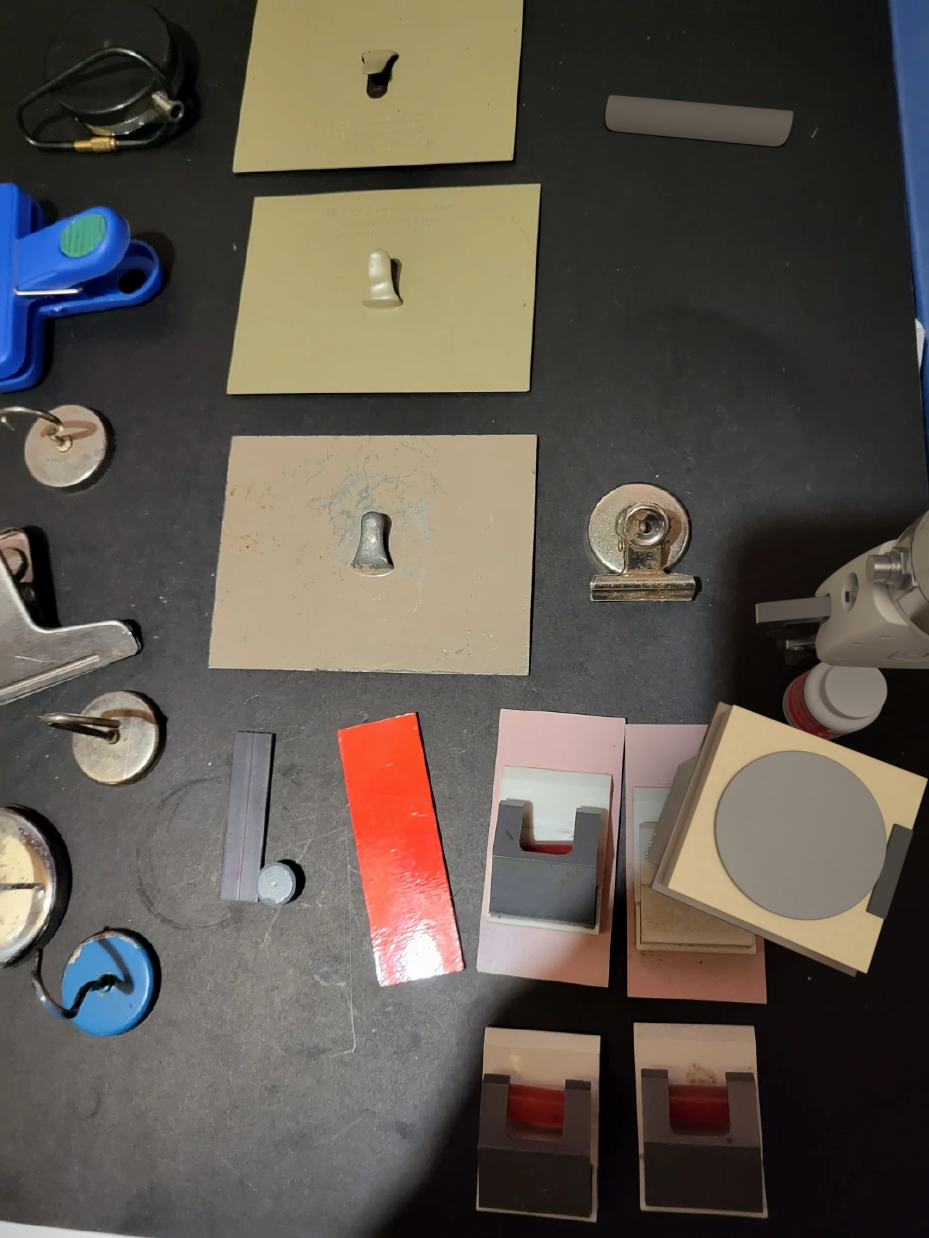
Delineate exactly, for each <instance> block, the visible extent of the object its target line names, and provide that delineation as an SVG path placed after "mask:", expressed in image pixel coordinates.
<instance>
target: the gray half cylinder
mask: <svg viewBox="0 0 929 1238" xmlns="http://www.w3.org/2000/svg"><path fill="white" fill-rule="evenodd" d="M604 118H605V125H606V127H607V129H609V130H610V131H613V132H619V133H620V132H621V133H629V134H630V133H631V134H640V135H641V134H642V135H651V136H663V137H670V138H671V137H673V138H683V139H693V140H703V141H715V142H725V143H734V144H744V145H755V146H756V145H757V146H764V147H765V146H767V147H779V146H782V145H784V143H785V142H786V141H787V139H788V137H789V136H790V132H791V129H792V124H793V121H794V111H793V110H786V109H785V110H784V109H775V108H774V109H773V108H763V107H762V108H761V107H753V106H752V107H750V106H741V105H729V104H718V103H709V102H708V103H707V102H706V103H705V102H695V101H686V100H685V101H683V100H673V99H661V98H650V97H639V96H629V95H616V94H609V95H608V99H607V102H606V106H605V117H604Z"/></svg>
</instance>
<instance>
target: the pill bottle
mask: <svg viewBox="0 0 929 1238" xmlns="http://www.w3.org/2000/svg"><path fill="white" fill-rule="evenodd" d="M887 696H888V686H887V682H886V679H885V677H884V675H883V674H882V672H881V671H880V669H879V668H866V667H842V666H833V665H828V664H826V663H824V662H822V661H821V662H820V663H818V664H816V665H814V666H813V667H811V668H810V669H809V670H807V671H805V672H804V673H802V674H801V675H799V676H797V677H796V678H794V679H793V681H791V682H790V683H789V685H788V686H787V687H786V689H785V691H784V693H783V698H782V710H783V714H784V717H785V719H786V721H787V723H788V725H789V726H791V727H793V728H796V729H799V730H801V731H804V732H806V733H809V734H812V735H814V736H817V737H820V738H822V739H825V740H827V741H830V740H833V739H836V738H840V737H842V736H845V735H848V734H852V733H853V732H857V731H860V730H862V729H864V728H866V727H868V726H869V725H871V724H872V723H873V722H874V721H875V720H876V719H877V718H878V716H879V715H880V713H881V711H882V708H883V706H884V704H885V702H886V700H887Z"/></svg>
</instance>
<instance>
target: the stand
mask: <svg viewBox="0 0 929 1238" xmlns="http://www.w3.org/2000/svg"><path fill="white" fill-rule="evenodd" d="M731 706H733V705H732V704H730V703H726V702H724V701H721V700H719V701H717V702H716V703H715V704H714V707H713V710H712V713H711V716H710V719H709V721H708V725H707V727H706V730H705V732H704V735H703V738H702V741H701V742H700V743H701V744H700V746H699V749H698V751H697V753H696V754H695V755H694V756H692V757H691V758H689V759H687V760H685V761H684V762H683V761H682V763H680V764H679V765H678V766H677V769H676V772H675V773H674V774H675V775H674V777H673V781H672V783H671V786H670V788H669V790H668V794H667V796H666V799H665V802H664V805H663V807H662V810H661V813H660V816H659V818H658V820H657V823H656V826H655V828H654V831H653V834H652V837H651V840H650V843H649V845H648V848H647V851H646V853H645V856H644V860H645V859H646V860H645V861H647V862H650V863H651V864H653V865H656V867H655V869H654V872H653V875H652V878H651V880H650V883H649V886H648V888H649V889H650V890H652V891H653V892H656V893H658V894H660V895H663V896H665V897H667V898H670V899H672V900H674V901H677V902H679V903H682V904H684V905H686V906H687V907H691V908H693V909H695V910H698V911H700V912H703V913H705V914H707V915H709V916H712V917H714V918H716V919H718V920H721V921H723V922H725V923H728V924H729V925H732V926H735V927H736V928H739V929H741V930H744V931H746V932H748V933H751V934H753V935H755V936H757V937H760V938H762V939H764V940H767V941H769V942H771V943H774V944H776V945H777V946H780V947H783V948H785V949H788V950H790V951H792V952H795V953H797V954H799V955H801V956H804V957H806V958H808V959H811V960H813V961H816V962H818V963H820V964H822V965H825V966H827V967H830V968H831V969H834V970H836V971H839V972H841V973H843V974H845V975H848V976H850V977H852V978H856V976H857V973H858V970H857V969H854V968H852V967H850V966H847V965H845V964H843V963H840V962H838V961H836V960H834V959H831V958H829V957H827V956H824V955H822V954H820V953H817V952H815V951H813V950H810V949H808V948H806V947H803V946H801V945H799V944H796V943H794V942H792V941H789V940H787V939H785V938H783V937H780V936H778V935H776V934H773V933H771V932H769V931H766V930H764V929H762V928H759V927H757V926H755V925H752V924H750V923H748V922H745V921H743V920H741V919H738V918H736V917H734V916H732V915H729V914H727V913H725V912H722V911H720V910H718V909H715V908H713V907H711V906H708V905H706V904H704V903H701V902H699V901H697V900H694V899H692V898H690V897H687V896H685V895H683V894H681V893H678V892H676V891H674V890H671V889H669V888H667V887H665V886H664V885H662V882H663V879H664V877H665V874H666V871H667V868H668V866H669V863H670V860H671V857H672V855H673V852H674V849H675V846H676V844H677V841H678V838H679V835H680V833H681V830H682V827H683V824H684V822H685V819H686V816H687V813H688V811H689V808H690V805H691V802H692V799H693V797H694V794H695V791H696V788H697V786H698V783H699V780H700V777H701V775H702V772H703V769H704V766H705V764H706V761H707V758H708V755H709V753H710V750H711V747H712V744H713V742H714V739H715V736H716V733H717V731H718V728H719V725H720V722H721V720H722V717H723V714H724V712H725V711H726V710H727V709H729V708H730V707H731ZM654 834H655V835H654ZM651 842H652V843H651ZM650 845H651V846H650ZM647 853H648V854H647ZM646 856H647V857H646Z"/></svg>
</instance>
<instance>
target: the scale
mask: <svg viewBox="0 0 929 1238" xmlns="http://www.w3.org/2000/svg"><path fill="white" fill-rule="evenodd" d="M927 783H928V778H926V777H924V776H921V775H918V774H916V773H914V772H911V771H908V770H906V769H903V768H901V767H898V766H895V765H893V764H890V763H887V762H885V761H883V760H879V759H877V758H874V757H871V756H869V755H866V754H864V753H861V752H858V751H856V750H854V749H851V748H848V747H846V746H843V745H841V744H837V743H836V742H832V741H830V740H825V739H822V738H820V737H817V736H814V735H812V734H809V733H806V732H804V731H801V730H799V729H796V728H793V727H791V726H790V725H789V724H786V723H783V722H780V721H778V720H775V719H772V718H769V717H767V716H764V715H762V714H759V713H756V712H754V711H752V710H749V709H747V708H745V707H741V706H738V705H736V704H733V705H732V706H731V707H730V708H729V709H727V710H726V711H725V712H724V714H723V717H722V720H721V722H720V725H719V728H718V731H717V733H716V736H715V739H714V742H713V744H712V747H711V750H710V753H709V755H708V758H707V761H706V764H705V766H704V769H703V772H702V775H701V777H700V780H699V783H698V786H697V788H696V791H695V794H694V797H693V799H692V802H691V805H690V808H689V811H688V813H687V816H686V819H685V822H684V824H683V827H682V830H681V833H680V835H679V838H678V841H677V844H676V846H675V849H674V852H673V855H672V857H671V860H670V863H669V866H668V868H667V871H666V874H665V877H664V879H663V882H662V885H664V886H665V887H667V888H669V889H671V890H674V891H676V892H678V893H681V894H683V895H685V896H687V897H690V898H692V899H694V900H697V901H699V902H701V903H704V904H706V905H708V906H711V907H713V908H715V909H718V910H720V911H722V912H725V913H727V914H729V915H732V916H734V917H736V918H738V919H741V920H743V921H745V922H748V923H750V924H752V925H755V926H757V927H759V928H762V929H764V930H766V931H769V932H771V933H773V934H776V935H778V936H780V937H783V938H785V939H787V940H789V941H792V942H794V943H796V944H799V945H801V946H803V947H806V948H808V949H810V950H813V951H815V952H817V953H820V954H822V955H824V956H827V957H829V958H831V959H834V960H836V961H838V962H840V963H843V964H845V965H847V966H850V967H852V968H854V969H857V971H859V972H861V973H864V974H868V972H869V968H870V965H871V962H872V958H873V955H874V952H875V948H876V946H877V944H878V943H877V942H878V939H879V936H880V933H881V930H882V926H883V923H884V920H887V917H888V914H889V911H890V908H891V905H892V902H893V898H894V895H895V892H896V888H897V886H898V883H899V879H900V876H901V873H902V869H903V867H904V864H905V860H906V857H907V854H908V850H909V848H910V844H911V841H912V838H913V834H914V832H915V831H914V830H913V828H914V824H915V821H916V818H917V816H918V813H919V812H918V811H919V809H920V806H921V802H922V800H923V797H924V796H923V795H924V793H925V790H926V787H927Z"/></svg>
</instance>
